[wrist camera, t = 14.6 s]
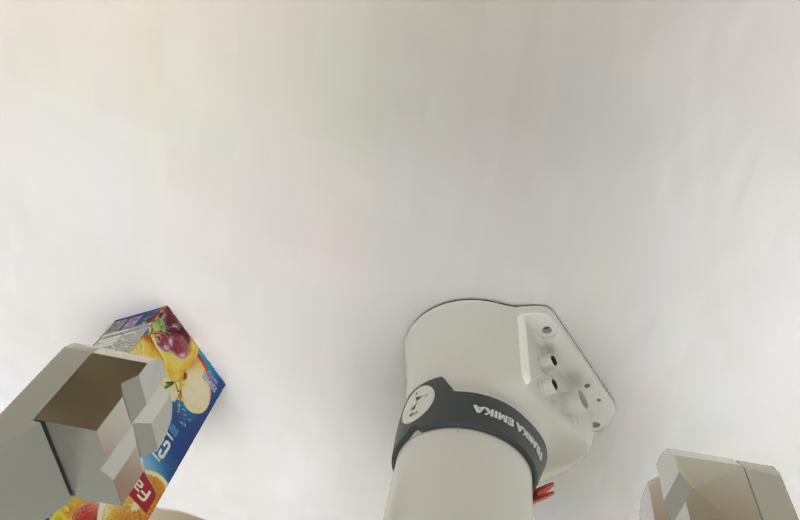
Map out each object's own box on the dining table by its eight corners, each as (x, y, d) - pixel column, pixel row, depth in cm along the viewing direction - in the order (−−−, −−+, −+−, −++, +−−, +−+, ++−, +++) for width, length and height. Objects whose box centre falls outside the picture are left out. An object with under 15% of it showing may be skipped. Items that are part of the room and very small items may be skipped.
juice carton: (226, 384, 70) (107, 592, 50) (175, 395, 72) (44, 596, 53) (166, 305, 64) (8, 502, 45) (115, 319, 67) (-57, 512, 47)
